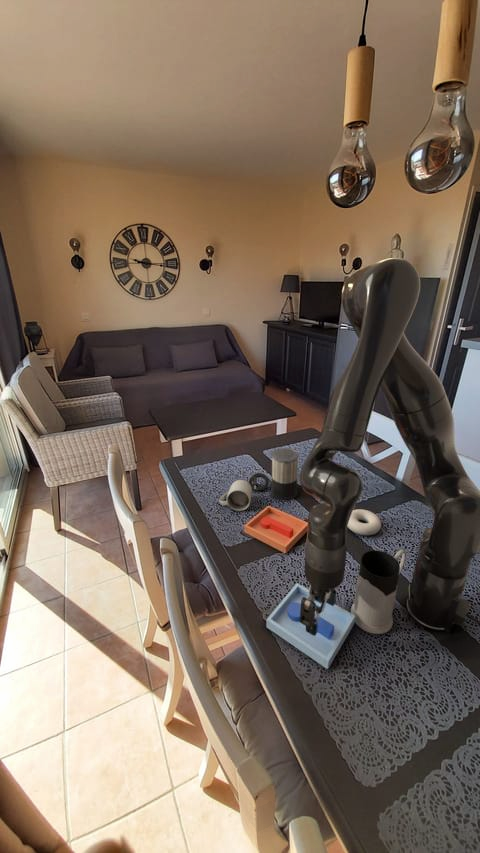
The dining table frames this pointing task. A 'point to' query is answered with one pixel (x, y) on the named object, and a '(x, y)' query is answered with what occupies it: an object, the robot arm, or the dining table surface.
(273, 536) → the terracotta tray
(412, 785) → the dining table surface
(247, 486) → the ceramic mug
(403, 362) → the robot arm
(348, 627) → the blue tray
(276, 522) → the red spoon
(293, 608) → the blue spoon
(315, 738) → the dining table surface
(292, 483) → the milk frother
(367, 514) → the donut
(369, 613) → the grey pitcher
